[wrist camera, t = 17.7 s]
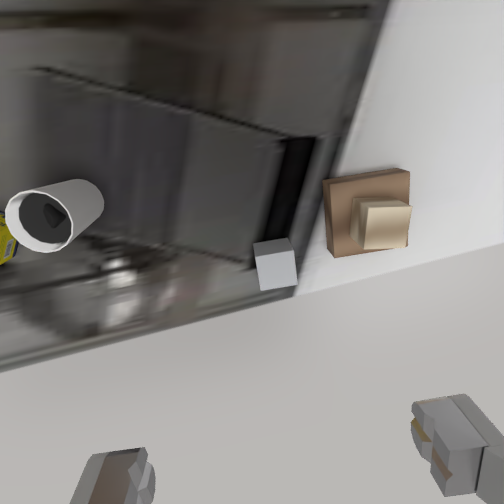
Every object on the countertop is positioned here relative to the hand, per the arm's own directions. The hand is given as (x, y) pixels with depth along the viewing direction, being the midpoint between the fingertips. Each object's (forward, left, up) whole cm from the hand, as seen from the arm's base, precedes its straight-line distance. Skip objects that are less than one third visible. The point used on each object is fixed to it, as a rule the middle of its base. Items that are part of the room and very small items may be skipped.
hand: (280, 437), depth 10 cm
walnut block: (+5, +16, -37) cm, 40 cm away
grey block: (+10, +3, -36) cm, 38 cm away
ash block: (+5, +16, -33) cm, 37 cm away
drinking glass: (-2, -21, -36) cm, 42 cm away
